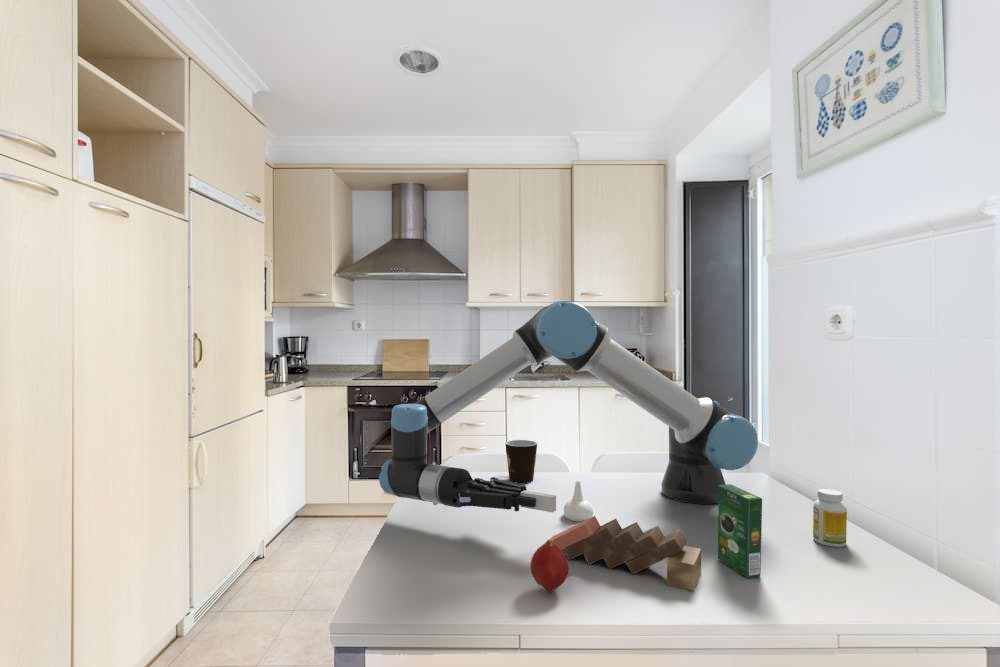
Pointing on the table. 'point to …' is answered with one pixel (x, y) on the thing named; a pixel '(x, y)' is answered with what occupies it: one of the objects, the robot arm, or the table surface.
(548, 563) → the onion
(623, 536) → the domino
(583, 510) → the garlic bulb
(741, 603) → the table surface
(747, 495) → the coffee box
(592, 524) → the domino
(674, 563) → the end block
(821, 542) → the supplement bottle
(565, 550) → the domino
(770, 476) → the table surface
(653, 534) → the domino
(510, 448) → the coffee mug
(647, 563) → the domino
